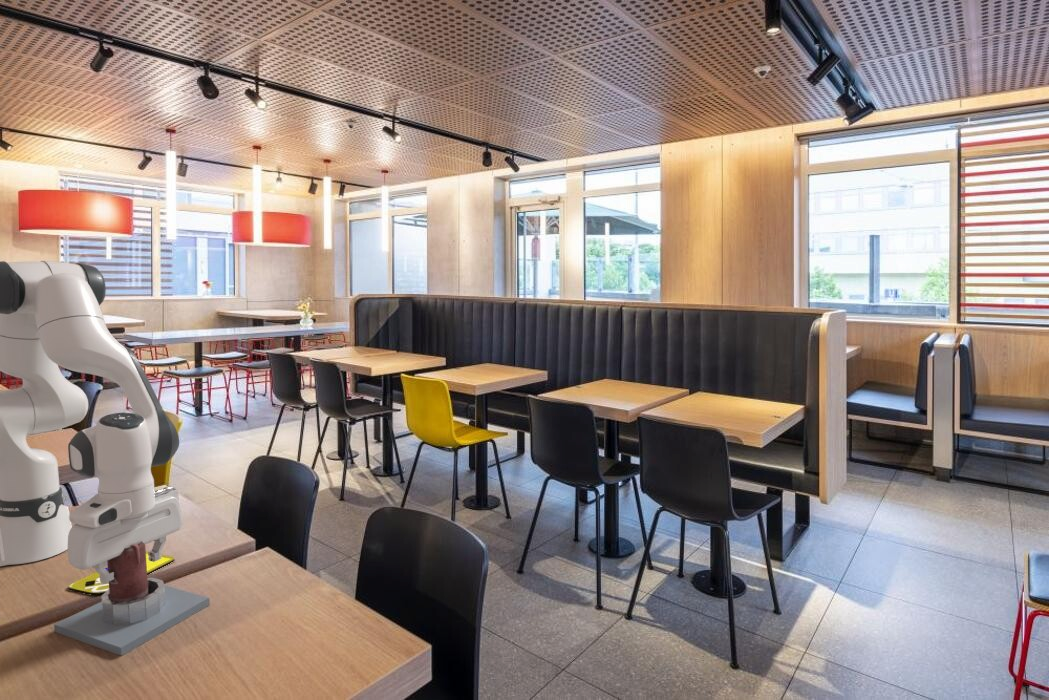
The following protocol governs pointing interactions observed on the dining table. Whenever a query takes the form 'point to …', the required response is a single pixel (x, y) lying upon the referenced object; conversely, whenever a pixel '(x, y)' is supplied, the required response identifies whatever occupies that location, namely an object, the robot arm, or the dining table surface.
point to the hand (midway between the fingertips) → (132, 570)
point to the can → (129, 574)
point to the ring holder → (135, 606)
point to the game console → (97, 588)
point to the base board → (128, 637)
